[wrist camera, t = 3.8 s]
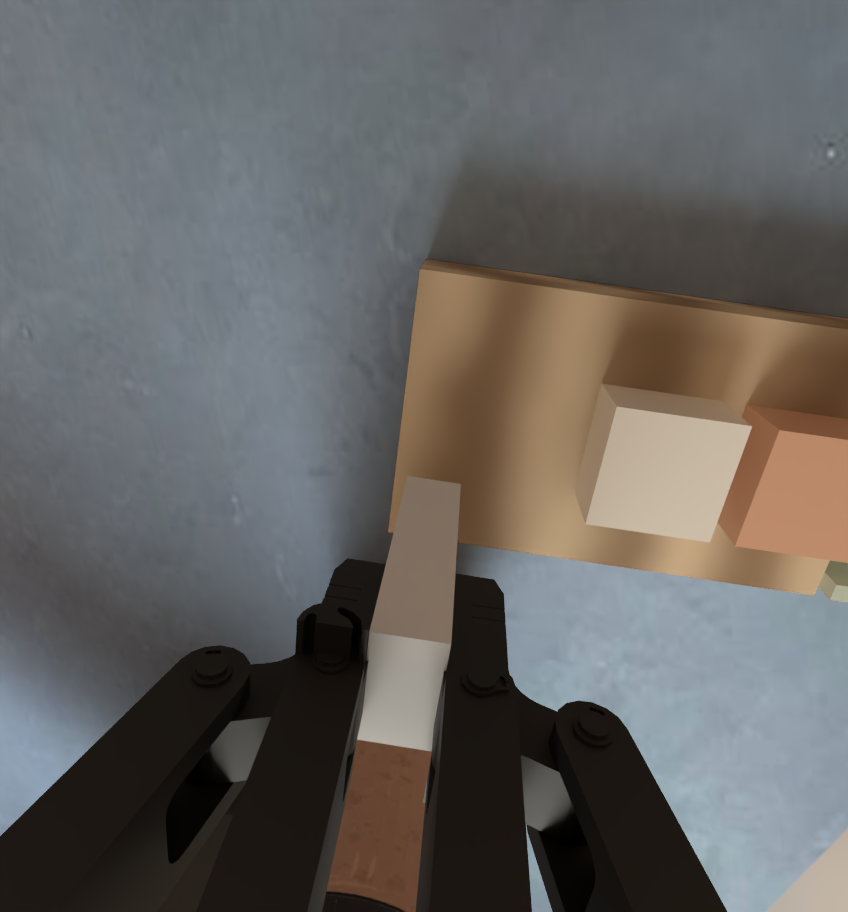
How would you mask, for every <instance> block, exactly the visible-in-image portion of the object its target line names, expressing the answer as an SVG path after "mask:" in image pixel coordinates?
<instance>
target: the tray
mask: <svg viewBox="0 0 848 912" xmlns="http://www.w3.org/2000/svg"><path fill="white" fill-rule="evenodd" d="M818 587H819V588H820V589H821V591H822V592H823V593H824V594H825V595H826V596H827V597H828V599H829V600H834V601H841V602H848V563H845V562H838V561H831V560H830V562H829V564H828V566H827V568H826V570H825V573H824V575H823V577H822V579H821V581H820V583H819V586H818Z"/></svg>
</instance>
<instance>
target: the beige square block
mask: <svg viewBox="0 0 848 912" xmlns="http://www.w3.org/2000/svg"><path fill="white" fill-rule="evenodd" d="M751 429H752V425H750V424H749V423H748V422H747V421H745V420H744V419H743V418H742V417H741V416H739V415H738V414H737V413H736V412H735V411H733V410H732V409H731V408H730V407H729V406H727V405H726V404H725V403H724V402H723V401H719V400H712V399H705V398H698V397H691V396H684V395H677V394H670V393H663V392H656V391H650V390H643V389H636V388H629V387H622V386H615V385H608V384H601V386H600V390H599V394H598V398H597V402H596V406H595V410H594V414H593V418H592V422H591V426H590V430H589V434H588V438H587V441H586V445H585V449H584V453H583V457H582V461H581V465H580V469H579V473H578V477H577V481H576V485H575V489H574V492H575V495H576V498H577V501H578V504H579V507H580V510H581V513H582V516H583V519H584V522H585V524H587V525H594V526H601V527H608V528H614V529H621V530H628V531H635V532H642V533H648V534H655V535H662V536H669V537H675V538H682V539H689V540H696V541H703V542H709V543H710V541H711V538H712V536H713V533H714V530H715V527H716V525H717V522H718V519H719V516H720V514H721V511H722V508H723V505H724V503H725V500H726V497H727V494H728V492H729V489H730V486H731V483H732V481H733V478H734V475H735V472H736V470H737V467H738V464H739V461H740V459H741V456H742V453H743V451H744V448H745V445H746V442H747V440H748V437H749V434H750V431H751Z"/></svg>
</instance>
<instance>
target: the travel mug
mask: <svg viewBox="0 0 848 912" xmlns="http://www.w3.org/2000/svg"><path fill="white" fill-rule="evenodd" d="M431 754H432V751H425V750H419V749H413V748H407V747H400V746H394V745H388V744H382V743H376V742H369V741H363V740H357V741H356V747H355V755H354V764H353V769H352V773H351V778H350V783H349V788H348V792H347V797H346V802H345V806H344V811H343V816H342V820H341V825H340V830H339V835H338V839H337V844H336V849H335V853H334V858H333V863H332V867H331V872H330V877H329V882H328V886H327V891H326V896H325V900H324V905H323V910H322V912H416V901H417V890H418V879H419V868H420V856H421V845H422V834H423V823H424V812H425V803H423V798H424V793H425V788H426V782H427V777H428V771H429V766H430V761H431Z"/></svg>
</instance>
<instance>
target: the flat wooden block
mask: <svg viewBox="0 0 848 912" xmlns="http://www.w3.org/2000/svg"><path fill="white" fill-rule="evenodd" d="M601 384H608V385H615V386H622V387H629V388H636V389H643V390H650V391H656V392H663V393H670V394H677V395H684V396H691V397H698V398H705V399H712V400H719V401H723V402H724V403H725V404H726V405H727V406H729V407H730V408H731V409H732V410H733V411H735V412H736V413H737V414H738V415H739V416H741V417H742V415H743V412H744V409H745V406H746V404H747V405H754V406H761V407H768V408H774V409H781V410H788V411H795V412H802V413H809V414H816V415H823V416H830V417H837V418H844V419H848V319H847V318H840V317H833V316H826V315H819V314H812V313H805V312H798V311H791V310H784V309H777V308H769V307H762V306H755V305H748V304H741V303H734V302H727V301H720V300H713V299H706V298H699V297H692V296H685V295H678V294H671V293H663V292H656V291H649V290H642V289H635V288H628V287H621V286H614V285H607V284H600V283H593V282H586V281H579V280H572V279H565V278H558V277H550V276H543V275H536V274H529V273H522V272H515V271H508V270H501V269H494V268H487V267H480V266H473V265H466V264H459V263H452V262H445V261H437V260H430V259H426V261H425V262H424V264H423V265H422V266H421V268H420V271H419V280H418V288H417V296H416V304H415V313H414V321H413V329H412V338H411V346H410V354H409V362H408V371H407V379H406V387H405V396H404V404H403V412H402V420H401V429H400V437H399V445H398V453H397V462H396V470H395V478H394V487H393V495H392V503H391V511H390V520H389V528H388V532H390V533H394V529H395V525H396V521H397V517H398V513H399V509H400V505H401V501H402V497H403V492H404V488H405V484H406V480H407V476H411V477H418V478H425V479H431V480H438V481H444V482H451V483H458V484H461V489H460V506H459V523H458V540H457V543H464V544H470V545H477V546H484V547H491V548H497V549H504V550H511V551H517V552H524V553H531V554H538V555H544V556H551V557H558V558H565V559H571V560H578V561H585V562H591V563H598V564H605V565H612V566H618V567H625V568H632V569H639V570H645V571H652V572H659V573H666V574H672V575H679V576H686V577H692V578H699V579H706V580H713V581H719V582H726V583H733V584H740V585H746V586H753V587H760V588H766V589H773V590H780V591H787V592H793V593H800V594H807V595H814V594H815V592H816V590H817V588H818V586H819V583H820V581H821V579H822V577H823V575H824V573H825V570H826V568H827V566H828V564H829V562H830V560H824V559H818V558H811V557H804V556H797V555H791V554H784V553H777V552H770V551H763V550H757V549H750V548H743V547H736V546H734V544H733V543H732V542H731V540H730V539H729V538H728V536H727V535H726V534H725V532H724V531H723V530H722V528H721V527H720V526H719V524H718V523H717V525H716V527H715V530H714V533H713V536H712V538H711V541H710V543H709V542H703V541H696V540H689V539H682V538H675V537H669V536H662V535H655V534H648V533H642V532H635V531H628V530H621V529H614V528H608V527H601V526H594V525H587V524H585V522H584V519H583V516H582V513H581V510H580V507H579V504H578V501H577V498H576V495H575V492H574V489H575V485H576V481H577V477H578V473H579V469H580V465H581V461H582V457H583V453H584V449H585V445H586V441H587V438H588V434H589V430H590V426H591V422H592V418H593V414H594V410H595V406H596V402H597V398H598V394H599V390H600V386H601Z"/></svg>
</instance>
